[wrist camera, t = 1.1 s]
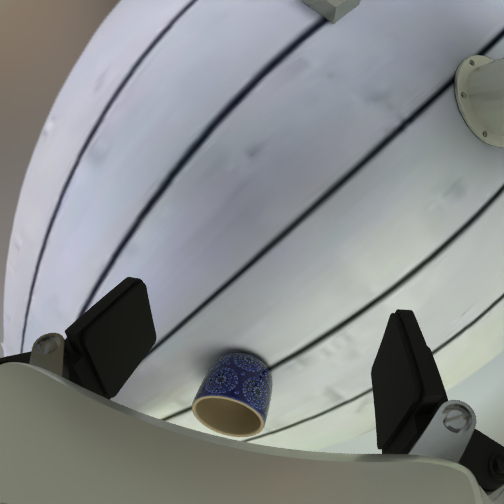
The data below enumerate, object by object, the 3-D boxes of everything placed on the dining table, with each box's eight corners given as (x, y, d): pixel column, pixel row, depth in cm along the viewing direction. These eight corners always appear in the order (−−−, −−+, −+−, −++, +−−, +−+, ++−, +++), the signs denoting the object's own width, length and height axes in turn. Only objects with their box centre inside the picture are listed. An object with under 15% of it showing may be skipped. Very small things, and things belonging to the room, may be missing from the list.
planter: (201, 358, 46) (176, 404, 36) (247, 334, 42) (228, 387, 32) (241, 394, 48) (226, 441, 38) (289, 376, 44) (280, 429, 34)
